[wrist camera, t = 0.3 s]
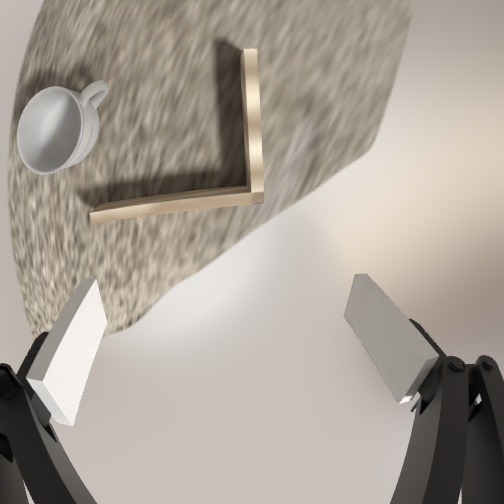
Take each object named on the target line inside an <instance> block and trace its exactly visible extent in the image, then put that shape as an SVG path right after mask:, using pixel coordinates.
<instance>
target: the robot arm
mask: <svg viewBox="0 0 504 504" xmlns="http://www.w3.org/2000/svg"><path fill="white" fill-rule="evenodd" d="M344 317H345V319H346V321H347V322H348V324H349V325H350V327H351V328H352V330H353V331H354V333H355V334H356V336H357V338H358V339H359V340H360V342H361V344H362V345H363V347H364V349H365V350H366V352H367V353H368V355H369V356H370V358H371V360H372V361H373V363H374V364H375V366H376V368H377V369H378V371H379V373H380V374H381V376H382V377H383V379H384V381H385V382H386V384H387V386H388V387H389V389H390V390H391V392H392V394H393V396H394V397H395V399H396V401H397V402H398V404H401V403H404V402H407V401H410V400H412V398H413V397H414V396H415V394H416V393H417V391H418V392H419V394H420V395H421V396H420V398H419V399H418V400H417V402H416V403H415V405H414V406H413V407H412V409H411V412H413V411H414V409H415V408H416V407H417V409H416V414H415V419H414V424H413V428H412V433H411V437H410V441H409V445H408V449H407V453H406V457H405V460H404V464H403V467H402V470H401V474H400V477H399V480H398V483H397V486H396V489H395V491H394V494H393V497H392V500H391V502H390V504H458V500H459V495H460V490H461V489H462V504H504V380H503V378H502V375H501V373H500V370H499V368H498V365H497V363H496V362H495V361H494V360H493V358H491V357H489V356H485V355H482V356H480V357H479V358H478V359H477V361H476V362H475V364H465V363H464V361H462V360H461V359H460V358H457V357H454V356H448V357H447V356H446V355H445V354H444V352H443V351H442V350H441V349H440V348H439V346H438V345H437V344H436V343H435V342H434V341H433V339H432V338H430V336H429V335H428V334H427V333H425V330H424V329H423V328H422V327H421V326H420V324H418V323H417V322H415V321H414V320H412V319H408V318H407V317H406V316H405V315H404V314H403V313H402V312H401V310H400V309H399V308H398V307H397V306H396V305H395V304H394V302H393V301H392V300H391V299H390V298H389V297H388V296H387V295H386V294H385V293H384V292H383V290H382V289H381V288H380V287H379V286H378V285H377V284H376V283H375V282H374V281H373V280H372V279H371V278H370V277H369V276H368V275H367V274H355V276H354V279H353V284H352V287H351V291H350V295H349V299H348V302H347V306H346V310H345V313H344ZM106 325H107V320H106V316H105V313H104V309H103V305H102V301H101V297H100V293H99V289H98V284H97V280H96V278H83V279H82V281H81V282H80V284H79V285H78V287H77V288H76V290H75V291H74V293H73V294H72V296H71V297H70V299H69V300H68V302H67V304H66V305H65V307H64V308H63V310H62V312H61V313H60V315H59V317H58V318H57V320H56V322H55V323H54V325H53V327H52V329H51V330H50V332H43V333H42V334H40V335H39V336H38V337H37V338H36V339H35V341H34V343H33V344H32V346H31V349H30V350H29V352H28V353H27V354H28V355H27V356H26V357H25V359H24V361H23V363H22V365H21V367H20V369H19V370H18V373H17V374H15V373H14V371H13V370H12V368H11V366H9V365H8V364H4V363H1V364H0V504H29V502H28V499H27V495H26V491H25V487H24V482H25V485H26V487H27V489H28V491H29V493H30V495H31V497H32V499H33V501H34V503H35V504H97V503H96V501H95V500H94V498H93V497H92V496H91V494H90V493H89V491H88V490H87V488H86V487H85V485H84V484H83V482H82V480H81V479H80V477H79V476H78V474H77V472H76V471H75V469H74V467H73V465H72V464H71V462H70V460H69V458H68V456H67V455H66V453H65V451H64V449H63V447H62V445H61V443H60V442H59V439H58V437H57V435H56V433H55V431H54V429H53V427H52V425H51V424H50V422H49V420H50V417H51V415H52V416H53V418H54V419H55V420H56V421H57V422H58V423H61V424H65V425H70V426H73V425H74V421H75V417H76V414H77V410H78V407H79V403H80V400H81V397H82V393H83V390H84V387H85V383H86V381H87V378H88V374H89V372H90V368H91V366H92V363H93V360H94V357H95V354H96V351H97V349H98V346H99V343H100V341H101V338H102V335H103V333H104V330H105V328H106ZM479 396H481V399H482V401H481V402H480V403H479V404H478V403H477V399H478V398H479ZM23 480H24V482H23Z"/></svg>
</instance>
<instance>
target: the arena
mask: <svg viewBox="0 0 504 504" xmlns="http://www.w3.org/2000/svg"><path fill="white" fill-rule="evenodd" d="M240 71H241V89H242V108H243V126H244V144H245V163H246V181H247V185H244V186H233V187H222V188H212V189H202V190H193V191H184V192H176V193H168V194H161V195H153V196H146V197H140V198H133V199H127V200H120V201H114V202H108V203H102V204H100V205H99V206H98V207H96V208H95V209H94V210H93V211H91V212H90V218H91V222H92V224H95V223H101V222H108V221H114V220H121V219H128V218H135V217H142V216H150V215H157V214H165V213H173V212H182V211H190V210H199V209H209V208H218V207H228V206H239V205H250V204H262V203H264V187H263V162H262V140H261V118H260V98H259V80H258V62H257V49H244V50H243V52H242V54H241V56H240Z"/></svg>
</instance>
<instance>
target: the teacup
mask: <svg viewBox="0 0 504 504" xmlns="http://www.w3.org/2000/svg"><path fill="white" fill-rule="evenodd" d="M108 92H109V85H108V84H107V82H106V81H104V80H97V81H94V82H93V83H91V84H89V85H88V86H87V87H86V88H85V89H84V90H83V91H82V92H81V93H79V92H76V91H73V90H69V89H67V88H65V87H62V86H51V87H48V88H45V89H43V90H41V91H40V92H38V93H37V94H36V95H34V96H33V97H32V98H31V100H30V101H29V102H28V103H27V105H26V106H25V108H24V110H23V112H22V114H21V116H20V119H19V122H18V127H17V147H18V151H19V155H20V158H21V159H22V161H23V163H24V164H25V165H26V167H27V168H29V169H30V170H31V171H32V172H34V173H37V174H42V175H48V174H53V173H56V172H58V171H59V170H62V169H65V168H68V167H71V166H73V165H75V164H77V163H78V162H80V161H81V160H83V159H84V158H85V157H86V156H87V155H88V153H89V152H90V151H91V149H92V148H93V146H94V144H95V142H96V139H97V136H98V132H99V116H98V112H97V107H98V106H99V104H100V103H101V101H102V100H103V99H104V98H105V96H106V95H107V94H108ZM93 95H94V96H93ZM92 96H93V97H92ZM91 97H92V98H91ZM90 98H91V99H90Z"/></svg>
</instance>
